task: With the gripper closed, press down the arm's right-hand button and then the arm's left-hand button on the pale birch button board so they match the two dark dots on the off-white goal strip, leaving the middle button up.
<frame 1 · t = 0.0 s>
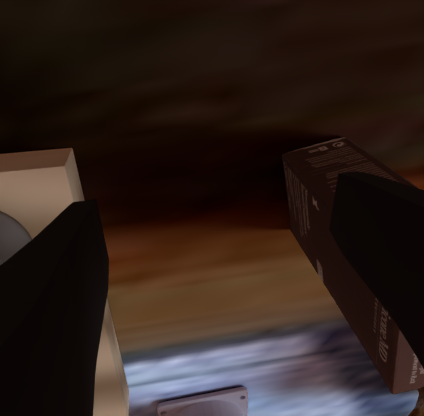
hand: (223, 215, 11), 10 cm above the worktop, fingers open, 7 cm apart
box: (312, 185, 23), on the worktop
button board: (11, 309, 23), on the worktop
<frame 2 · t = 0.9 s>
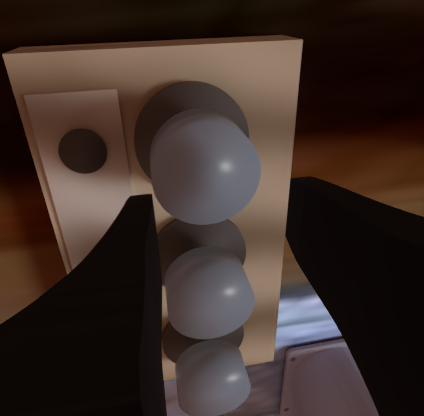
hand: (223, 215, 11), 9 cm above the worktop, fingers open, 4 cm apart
button middle: (208, 292, 17), point 6 cm above the worktop, slide at 0.0 cm
button board: (175, 230, 22), on the worktop
button 1: (203, 166, 14), point 6 cm above the worktop, slide at 0.0 cm
button 2: (211, 378, 20), point 6 cm above the worktop, slide at 0.0 cm
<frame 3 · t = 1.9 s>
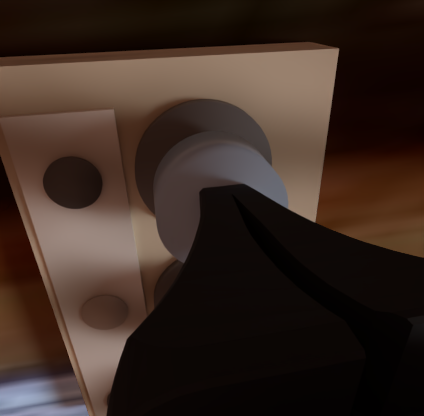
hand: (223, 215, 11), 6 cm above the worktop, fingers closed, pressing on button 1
button board: (181, 263, 19), on the worktop
button 1: (217, 201, 12), point 5 cm above the worktop, slide at 0.4 cm, touching gripper
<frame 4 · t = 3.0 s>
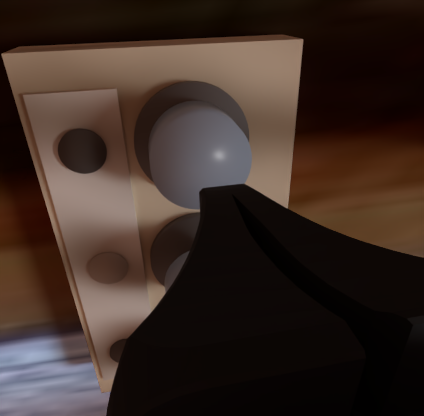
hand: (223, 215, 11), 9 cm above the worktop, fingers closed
button middle: (208, 293, 17), point 6 cm above the worktop, slide at 0.0 cm
button board: (175, 230, 22), on the worktop
button 1: (198, 155, 15), point 4 cm above the worktop, slide at 1.2 cm
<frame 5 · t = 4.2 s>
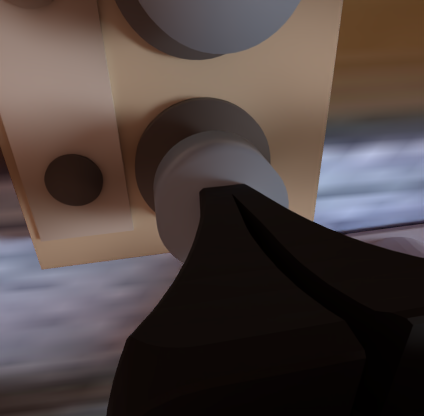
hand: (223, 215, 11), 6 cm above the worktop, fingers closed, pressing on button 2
button 2: (217, 200, 12), point 5 cm above the worktop, slide at 0.2 cm, touching gripper
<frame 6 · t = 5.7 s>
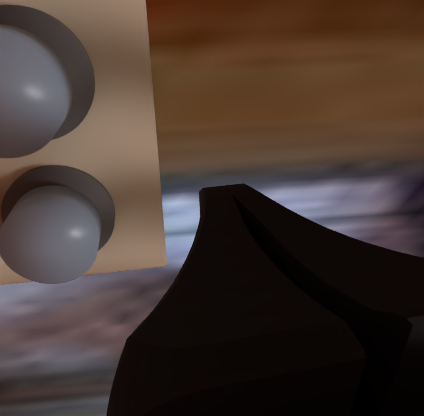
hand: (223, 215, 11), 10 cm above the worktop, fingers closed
button middle: (4, 91, 12), point 6 cm above the worktop, slide at 0.0 cm
button board: (20, 69, 17), on the worktop
button 2: (53, 234, 16), point 4 cm above the worktop, slide at 1.2 cm
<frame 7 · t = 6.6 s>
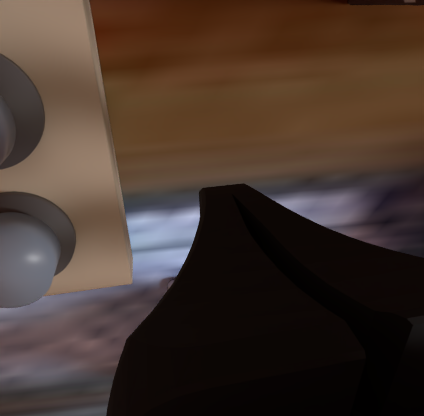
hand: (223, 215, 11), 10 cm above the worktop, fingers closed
button 2: (10, 260, 17), point 4 cm above the worktop, slide at 1.2 cm
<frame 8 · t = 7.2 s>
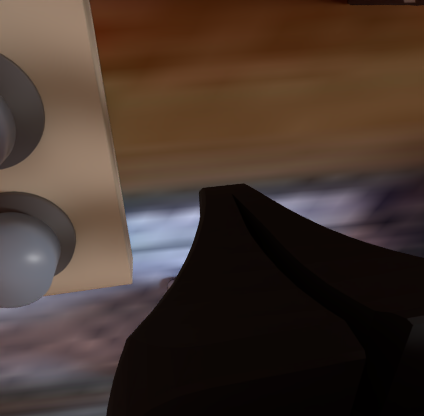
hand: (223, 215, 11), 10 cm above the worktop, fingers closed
button 2: (10, 260, 17), point 4 cm above the worktop, slide at 1.2 cm
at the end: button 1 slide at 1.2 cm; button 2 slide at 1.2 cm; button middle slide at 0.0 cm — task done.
